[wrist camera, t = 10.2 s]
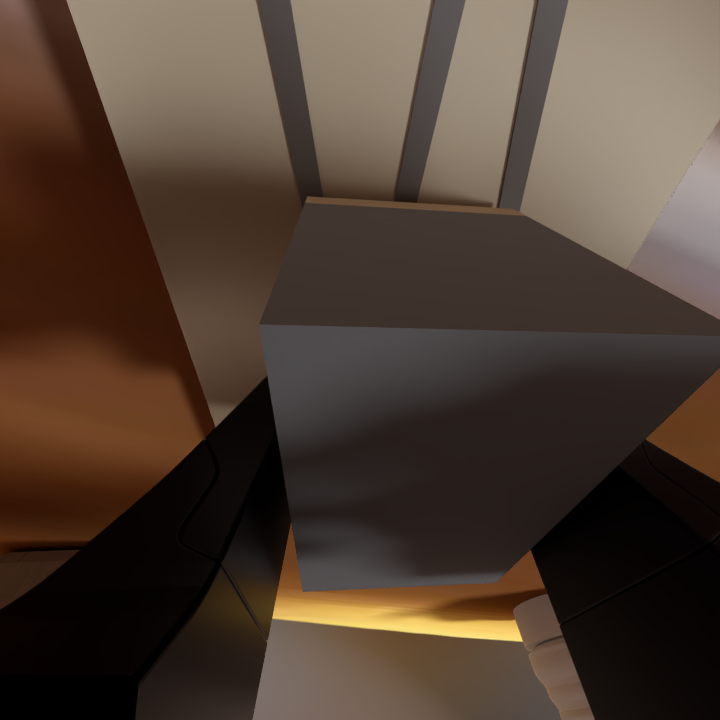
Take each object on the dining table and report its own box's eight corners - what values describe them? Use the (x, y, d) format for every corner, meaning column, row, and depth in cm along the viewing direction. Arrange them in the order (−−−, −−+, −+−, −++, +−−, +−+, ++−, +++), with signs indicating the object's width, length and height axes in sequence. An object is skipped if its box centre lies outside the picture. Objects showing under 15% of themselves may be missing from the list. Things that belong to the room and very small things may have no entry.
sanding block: (440, 418, 11) (496, 582, 7) (315, 418, 11) (302, 591, 7) (513, 208, 7) (752, 337, 3) (307, 196, 6) (258, 324, 2)
